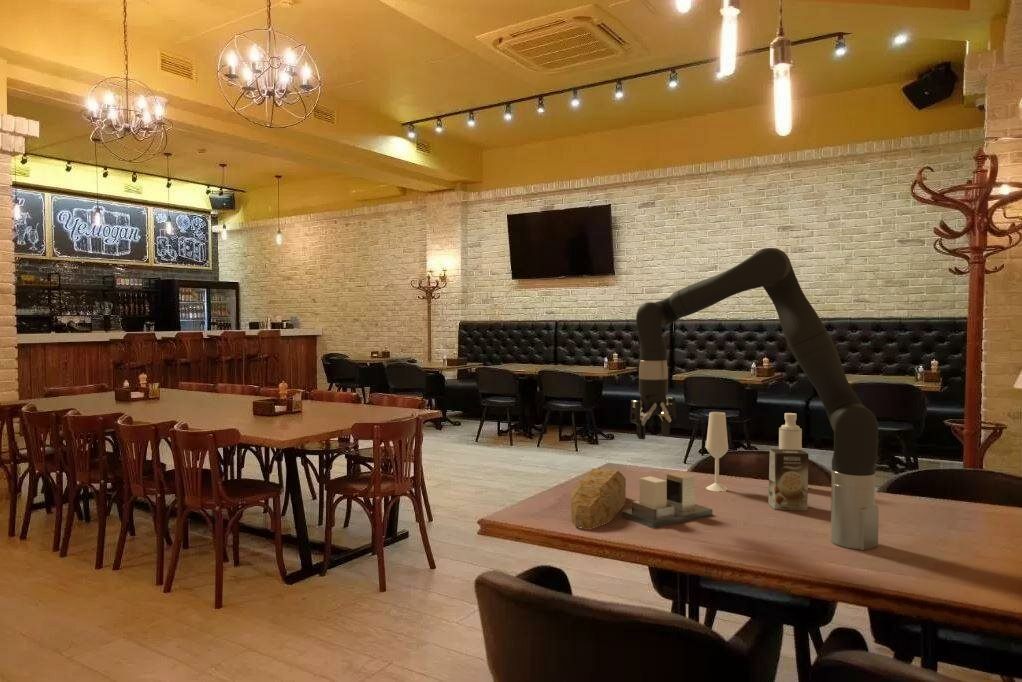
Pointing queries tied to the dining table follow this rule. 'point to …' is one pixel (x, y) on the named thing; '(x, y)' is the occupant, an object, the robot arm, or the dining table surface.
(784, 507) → the coffee box
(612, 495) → the bread
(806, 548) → the dining table surface
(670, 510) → the grey block holder
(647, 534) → the dining table surface
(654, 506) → the beige block
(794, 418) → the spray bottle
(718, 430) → the champagne flute
